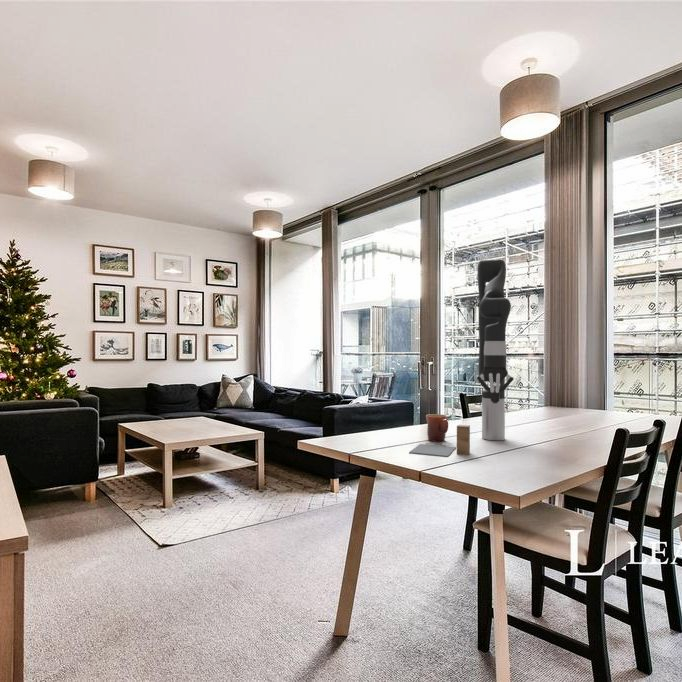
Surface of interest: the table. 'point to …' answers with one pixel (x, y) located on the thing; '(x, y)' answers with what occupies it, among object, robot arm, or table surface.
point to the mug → (436, 427)
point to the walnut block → (463, 439)
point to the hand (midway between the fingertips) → (495, 403)
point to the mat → (433, 450)
